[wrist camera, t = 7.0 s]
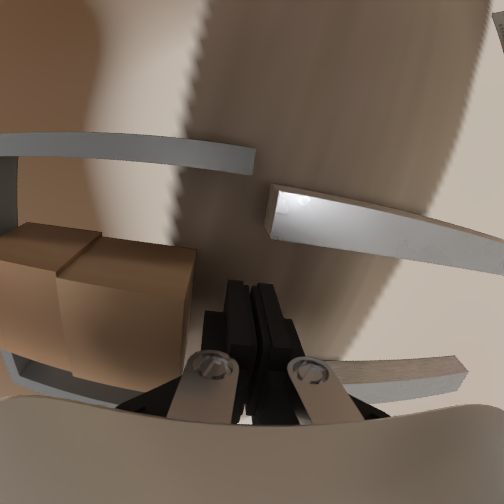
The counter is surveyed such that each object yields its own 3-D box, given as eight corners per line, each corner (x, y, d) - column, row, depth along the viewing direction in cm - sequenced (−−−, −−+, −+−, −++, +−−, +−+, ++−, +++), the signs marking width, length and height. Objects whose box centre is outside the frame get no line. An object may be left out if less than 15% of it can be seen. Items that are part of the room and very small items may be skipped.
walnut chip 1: (27, 222, 11) (-29, 253, 7) (101, 231, 11) (55, 271, 8) (35, 300, 12) (-7, 345, 8) (104, 315, 13) (72, 372, 9)
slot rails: (271, 183, 11) (279, 190, 10) (502, 239, 13) (523, 250, 11) (234, 380, 14) (235, 405, 13) (444, 374, 16) (456, 390, 15)
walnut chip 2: (101, 236, 11) (55, 277, 8) (196, 249, 12) (184, 299, 8) (104, 319, 13) (73, 376, 9) (188, 332, 13) (178, 397, 9)
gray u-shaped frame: (8, 133, 9) (-26, 136, 7) (250, 147, 11) (256, 148, 8) (30, 356, 13) (12, 382, 11) (212, 393, 15) (211, 428, 12)
